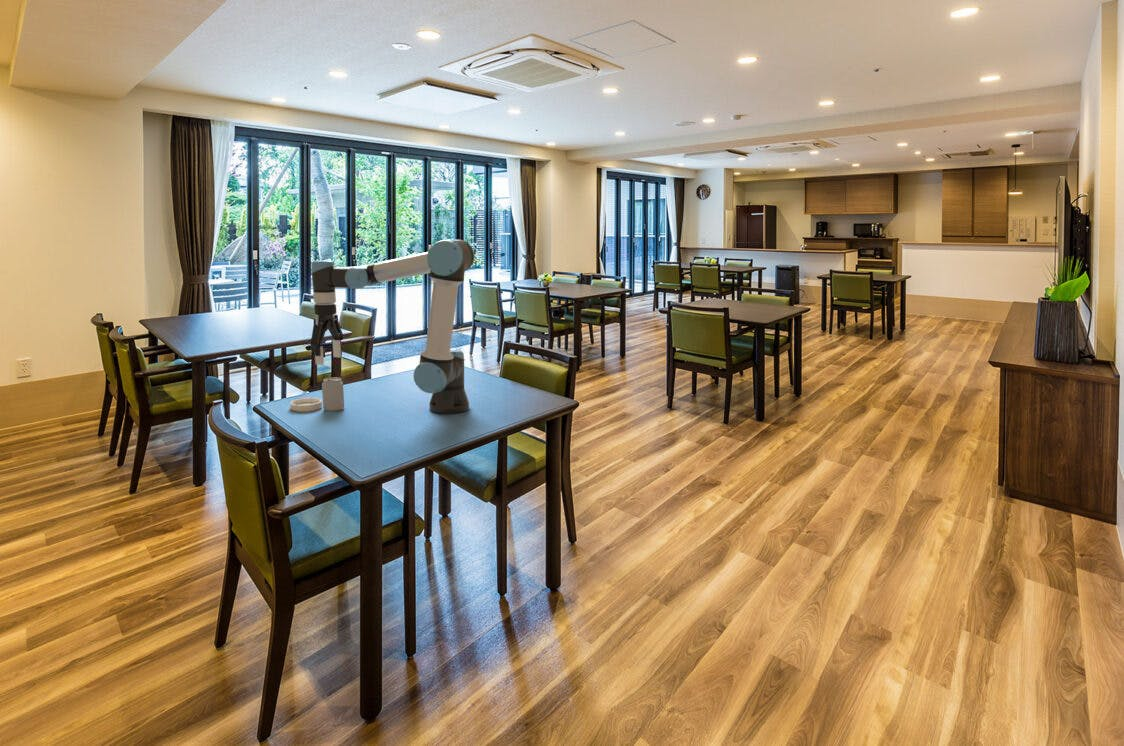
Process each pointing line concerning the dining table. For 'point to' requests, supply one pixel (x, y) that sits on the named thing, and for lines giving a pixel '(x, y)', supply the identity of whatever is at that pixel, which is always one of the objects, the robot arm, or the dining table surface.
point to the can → (333, 394)
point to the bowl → (306, 404)
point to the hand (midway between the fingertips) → (328, 360)
